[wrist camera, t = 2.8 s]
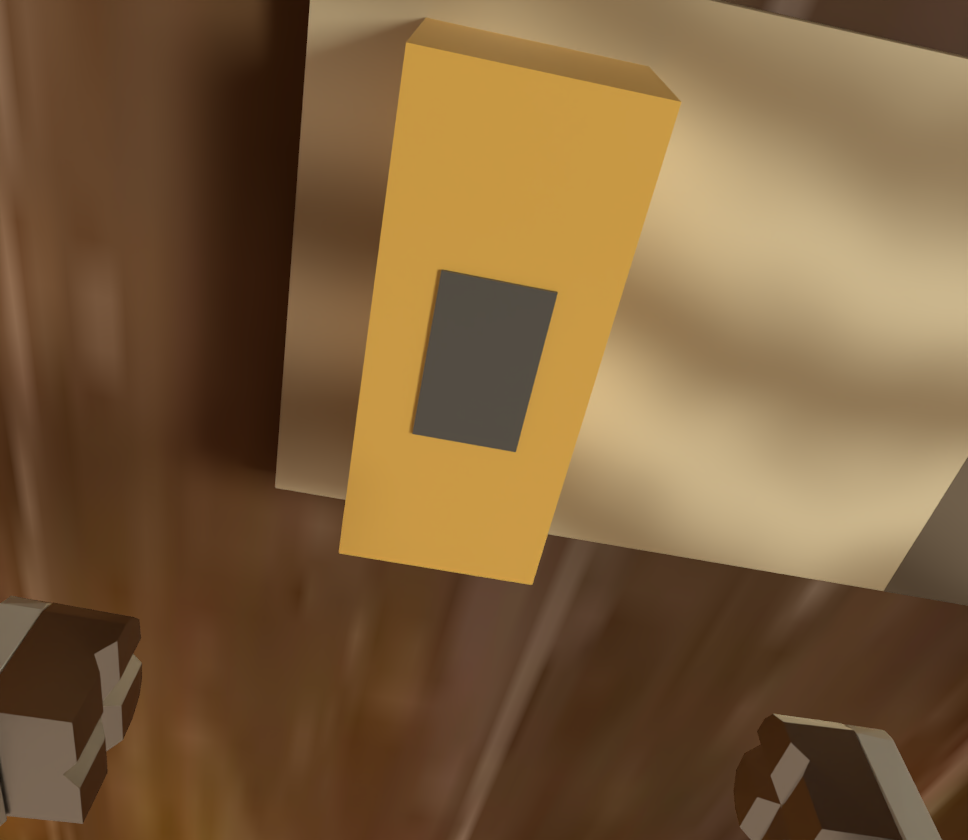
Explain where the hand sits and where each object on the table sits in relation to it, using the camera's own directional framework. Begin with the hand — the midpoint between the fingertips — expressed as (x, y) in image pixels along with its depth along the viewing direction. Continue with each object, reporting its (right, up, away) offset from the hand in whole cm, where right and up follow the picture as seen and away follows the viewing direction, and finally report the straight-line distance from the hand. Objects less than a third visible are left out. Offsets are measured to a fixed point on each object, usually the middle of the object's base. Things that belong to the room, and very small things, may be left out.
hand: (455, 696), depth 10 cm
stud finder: (0, +7, +10) cm, 12 cm away
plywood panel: (+8, +6, +12) cm, 16 cm away
